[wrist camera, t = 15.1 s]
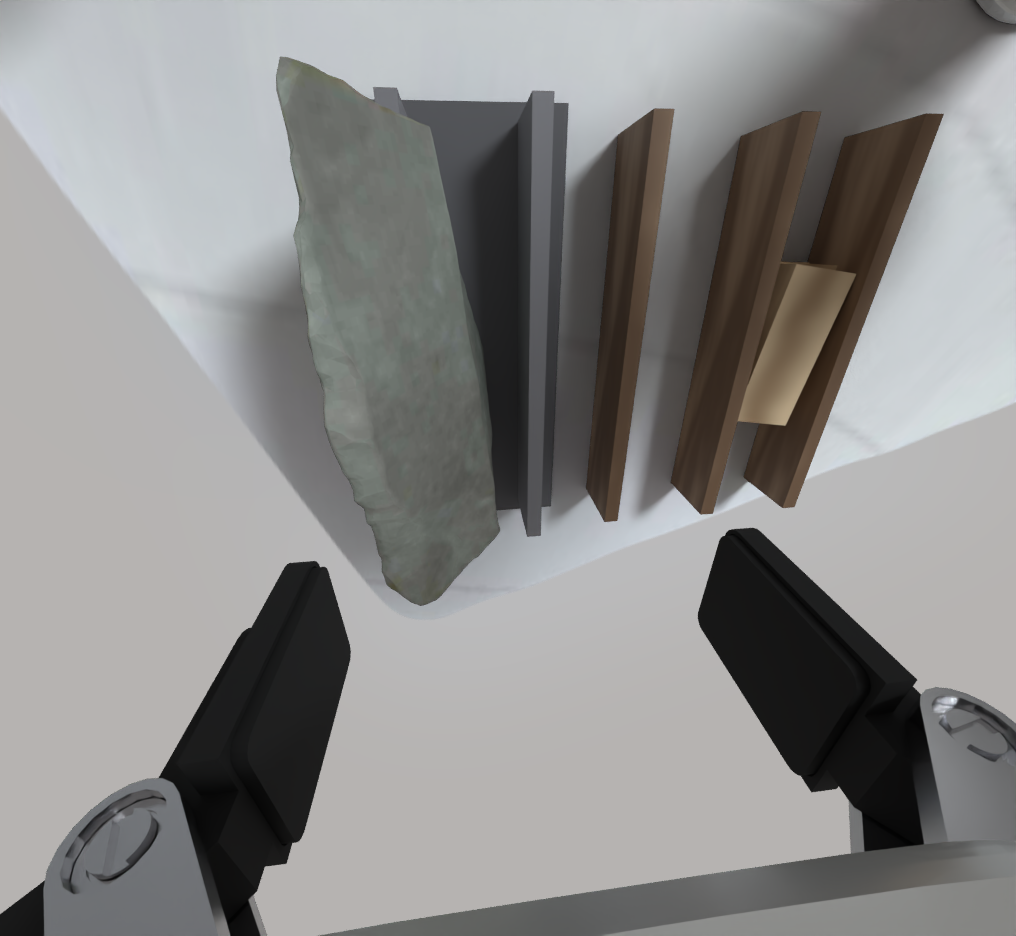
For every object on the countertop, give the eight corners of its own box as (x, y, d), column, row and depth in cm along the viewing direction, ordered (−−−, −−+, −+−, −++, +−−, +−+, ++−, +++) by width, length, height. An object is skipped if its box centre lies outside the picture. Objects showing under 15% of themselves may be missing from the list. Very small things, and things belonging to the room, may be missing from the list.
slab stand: (566, 106, 28) (595, 67, 22) (549, 503, 43) (564, 542, 37) (353, 102, 26) (325, 59, 21) (414, 512, 41) (407, 555, 36)
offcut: (834, 272, 32) (856, 273, 30) (770, 417, 37) (785, 425, 35) (777, 263, 31) (796, 264, 29) (720, 412, 36) (733, 420, 35)
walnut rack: (859, 137, 30) (943, 113, 25) (753, 476, 44) (794, 507, 39) (618, 134, 29) (654, 108, 23) (586, 488, 42) (604, 521, 37)
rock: (528, 488, 39) (458, 677, 22) (467, 485, 41) (358, 660, 24) (503, 143, 27) (303, -24, 10) (417, 157, 28) (114, 34, 11)
